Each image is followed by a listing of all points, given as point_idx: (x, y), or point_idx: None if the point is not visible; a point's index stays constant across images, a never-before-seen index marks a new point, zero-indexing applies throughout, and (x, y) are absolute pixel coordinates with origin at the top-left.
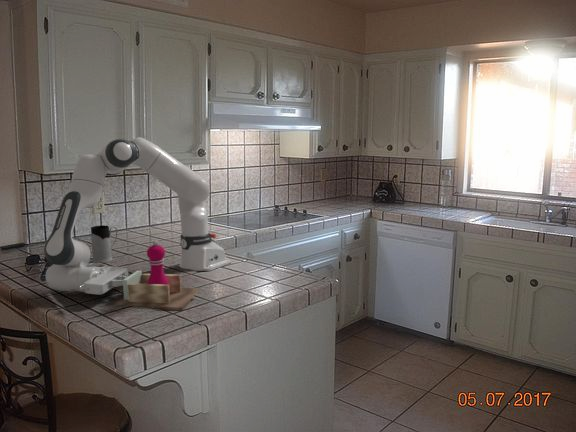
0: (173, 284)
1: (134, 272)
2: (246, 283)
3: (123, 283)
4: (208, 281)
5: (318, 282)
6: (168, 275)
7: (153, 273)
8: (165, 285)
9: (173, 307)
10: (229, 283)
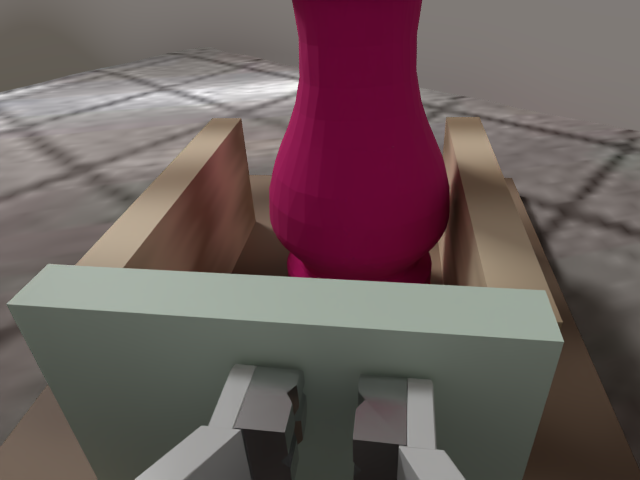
0: (236, 198)
1: (113, 311)
2: (154, 118)
3: (549, 378)
4: (54, 189)
5: (206, 55)
6: (216, 149)
7: (418, 86)
8: (472, 124)
9: (522, 202)
10: (130, 143)
